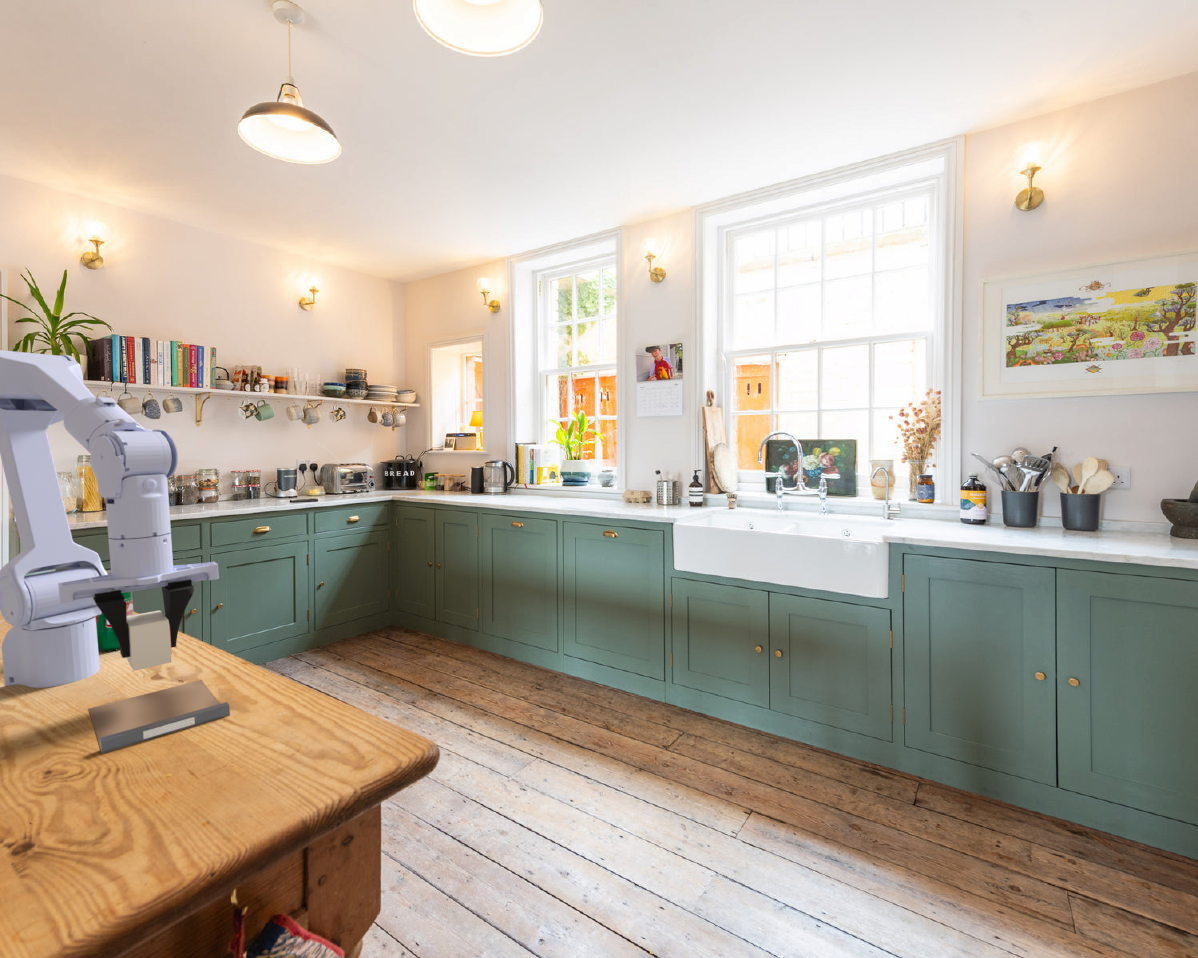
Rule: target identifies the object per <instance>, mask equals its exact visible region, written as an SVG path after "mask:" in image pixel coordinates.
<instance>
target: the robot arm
mask: <svg viewBox="0 0 1198 958" xmlns="http://www.w3.org/2000/svg"><path fill="white" fill-rule="evenodd" d="M61 421H63V426H64V429H65V430H66V431H67V433H69V434H70V436H72V438H74V439H75V440H76V441H77V442H78V443H79V444H80V445H81V446H82V447H83V448H84V449H85V450H86V451H88V453H89V454H90V455H89V461H90V466H91V469H92V472H93V474H94V476H95V478H96V481H97V487H98V493H99V495H100V497H101V498H105V506H106V507H105V510H106V521H107V522H106V523H107V525H106V526H107V535H108V536H107V537H108V547H109V549H108V551H109V563H110V570H111V574H108V573H107V572H106V571H105V570H106V569H105V567H104V566H103V563H102V559H101V557H100V556H99V553H98V552H96V551H95V550H92V549H90V548H88V547H85V546H83V545H80V544H78V543H76V542H74V540H73V535H72V531H71V527H70V523H69V520H68V514H67V509H66V506H65V503H64V498H63V493H62V489H61V485H60V482H59V478H58V473H57V469H56V465H55V461H54V457H53V452H52V448H51V444H50V440H49V436H48V429H49V426H52V425H54V424H57V423H60V422H61ZM178 453H179V452H178V449H177V444H176V442H175V441H174V439H173V437H172V436H171V435H170V433H168V431H167V430H165V429H152V428H145V427H143V426H142V425H141V424H140V423H139V422H138V421H136V419H135V418H133V417H132V416H131V415H130V414H129V413H128V412H126V411H125V410H124V409H123V408H122V407H121V406H120V405H118V403H117V401H116V400H115V399H114V398H112V397H110V396H109V397H107V396H106V397H105V396H95V395H94V394H93V392H91V390H89V388H88V387H87V386H86V385H85V384H84V375H83V370H82V365H81V364H80V363H79V362H77V361H76V359H75V358H74V357H73V356H72V355H69V354H60V355H55V354H47V353H34V352H33V353H32V352H22V351H16V350H15V351H13V350H12V351H11V350H3V349H0V459H1V463H2V468H3V472H4V476H5V480H6V484H7V489H8V493H9V497H10V501H11V507H12V511H13V514H14V515H13V516H14V518H15V522H16V527H17V531H18V536H19V540H20V544H21V545H20V546H21V548H22V551H21V552H20V553H18V554H17V555H16V556H15V557H12V559H10V560H9V561H8V562H7V563H6V564H4V566H2V568H1V569H0V615H1V616H2V618H3V619H4V621H5V622H6V623H7V624H10V625H11V626H12V627H11V628H10V629H9V630H8V631H7V632H6V634H5V635H4V637H3V639H2V640H3V641H2V643H1V656H2V659H1V660H2V667H3V677H4V678H3V679H4V687H8V686H13V685H21V686H27V687H29V688H35V689H36V688H37V689H38V688H39V689H40V688H41V689H42V688H51V687H58V686H62V685H68V684H71V683H75V682H78V681H82V680H85V679H87V678H89V677H92V676H94V675H95V674H97V673H98V672H100V669H101V668H100V667H101V666H100V655H99V651H98V641H97V628H96V616H97V615H100V614H101V612H102V613H103V615H104V616H105V617H106V619H107V620H108V622H109V623H110V625H111V627H112V629H113V631H114V633H115V636H116V638H117V641H118V644H119V648H120V650H119V652H120V656H121V658H123V659H127V657H130V643H129V638H128V632H127V614H126V602H125V600H124V595H123V594H122V593H124V592H131V591H132V592H135V591H142V590H143V591H144V590H149V589H155V588H156V589H157V588H161V592H162V598H163V599H162V600H163V606H164V607H163V609H164V615H165V616H166V618H167V619H168V620H169V624H170V636H171V649H172V648H176V647H177V639H178V633H179V629H180V626H181V622H182V619H183V616H184V613H185V611H186V608H187V607H188V605H189V602H190V601H191V598H192V597H193V594H194V591H195V587H194V585H192V584H193V582H194V583H195V582H200V581H202V582H203V581H215V580H216V581H217V580H219V579H220V575H219V563H217V562H216V561H210V562H201V563H190V564H176V565H174V560H173V556H174V555H173V545H172V528H171V527H172V525H171V514H170V513H171V512H170V499H169V485H168V484H169V482H168V481H169V480H168V479H169V478H171V477H172V476H173V475H174V474H175V472H176V471H177V468H178V462H179V455H178ZM63 568H64V569H63ZM57 569H59V570H57ZM52 570H53V571H52ZM45 571H46V572H45ZM39 572H41V573H39ZM30 574H31V575H30ZM125 586H129V587H125Z"/></svg>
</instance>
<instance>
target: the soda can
mask: <svg viewBox="0 0 1198 958" xmlns="http://www.w3.org/2000/svg"><path fill="white" fill-rule="evenodd" d="M105 571H106V572H107V573H108V574H111V569H108V570H107V569H105ZM125 587H129V586H125ZM122 594H123V595H124V600H125V602H126V614H127V616H131V615H135V613H134V602H133V591H131V592H124V593H122ZM96 628H97V641H98V652H102V651H107V652H113V651H112V650H115V651H117V650H116V649H120V648H119V644H118V641H117V638H116V636H115V633H114V631H113V629H112V627H111V625H110V623H109V622H108V620H107V619H106V617H105V616H104V615H103V613H102V612H101V614H100V615H97V616H96Z"/></svg>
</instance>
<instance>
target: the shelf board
mask: <svg viewBox="0 0 1198 958" xmlns="http://www.w3.org/2000/svg"><path fill="white" fill-rule="evenodd" d="M221 703H222V702H220V700H218V698H217V697H216V696H215V694H214V693H213V692H212V691H211V689H209V687H207V685H206V684H205V682H204V681H203V680H202V679H200V680H199V679H198V680H196V681H192V682H191V681H190V682H187V683H183V684H179V685H176V686H171V687H167V688H163V689H160V690H157V691H152V692H149V693H144V694H140V695H137V696H134V697H133V696H132V697H130V698H129V697H128V698H126V699H125V698H124V699H122V700H117V701H114V702H113V701H112V702H108V703H106V704H102V705H98V706H94V707H90V708H88V711H89V715H90V718H91V721H92V724H93V729H94V733H95V734H96V739H97V742H98V745H99V749H100V750H101V746H100V738H102V737H105V736H109V735H112V734H116V733H119V732H123V731H126V730H130V729H133V728H137V727H140V726H144V725H147V724H151V723H154V722H158V721H161V720H165V719H168V718H172V717H175V716H179V715H182V714H186V713H190V712H193V711H197V710H200V709H204V708H207V707H211V706H214V705H218V704H221ZM229 716H231V714H230V715H228V716H225V717H222V718H218V719H215V720H212V721H208V722H205V723H202V724H198V725H195V726H192V727H188V728H185V729H182V730H178V731H175V732H179V731H183V730H186V729H189V728H193V727H196V726H200V725H203V724H206V723H209V722H213V721H216V720H219V719H223V718H226V717H229ZM175 732H172V733H168V734H165V735H169V734H173V733H175ZM165 735H161V736H158V737H155V738H151V739H148V740H145V741H141V742H138V743H135V744H131V745H128V746H125V747H121V748H118V749H119V750H120V749H123V748H126V747H129V746H132V745H136V744H139V743H144V742H146V741H151V740H152V739H156V738H159V737H163V736H165ZM118 749H115V750H111V751H108V752H105V753H102V752H101V754H106V753H109V752H113V751H116V750H118Z"/></svg>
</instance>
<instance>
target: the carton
mask: <svg viewBox="0 0 1198 958" xmlns="http://www.w3.org/2000/svg"><path fill="white" fill-rule="evenodd" d="M127 632H128V638H129V643H130V657H126V660H127V662H128V664H129V665H130V667H131V670H132V671H133V672H135V671H138V670H139V671H140V670H145V669H147V668H152V667H156V666H157V667H158V666H160V665H165V664H169V663H172V654H173V652H172V648H171V636H170V624H169V620H168V619H167V618H166V616H165V613H163V612H162V610H154V611H149V612H144V613H138V614H134V615H131V616H127Z"/></svg>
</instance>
